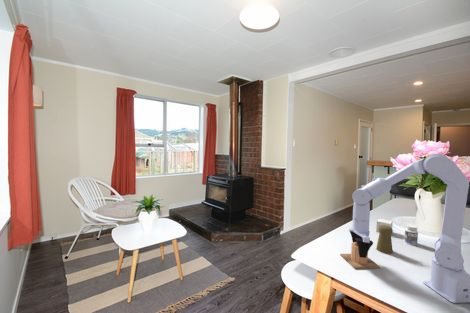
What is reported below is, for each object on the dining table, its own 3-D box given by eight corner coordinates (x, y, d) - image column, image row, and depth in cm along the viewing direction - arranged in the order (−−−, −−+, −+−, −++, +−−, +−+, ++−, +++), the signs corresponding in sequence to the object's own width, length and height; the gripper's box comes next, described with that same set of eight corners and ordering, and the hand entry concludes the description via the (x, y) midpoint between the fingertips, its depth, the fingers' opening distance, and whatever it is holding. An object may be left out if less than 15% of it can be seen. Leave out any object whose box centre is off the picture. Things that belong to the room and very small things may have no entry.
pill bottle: (404, 239, 106) (405, 223, 105) (417, 242, 103) (418, 225, 102) (404, 243, 102) (405, 226, 101) (417, 246, 99) (418, 228, 98)
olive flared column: (395, 254, 92) (397, 229, 91) (379, 253, 93) (381, 228, 92) (388, 247, 97) (389, 224, 97) (373, 246, 99) (374, 223, 98)
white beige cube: (376, 232, 115) (376, 221, 115) (378, 229, 119) (379, 218, 119) (389, 235, 111) (390, 224, 110) (392, 232, 115) (392, 221, 115)
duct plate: (380, 268, 81) (380, 257, 81) (354, 269, 81) (355, 258, 80) (362, 254, 91) (363, 245, 91) (340, 255, 91) (340, 245, 90)
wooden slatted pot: (368, 259, 86) (369, 245, 86) (365, 265, 82) (366, 250, 82) (353, 254, 90) (353, 240, 90) (349, 260, 86) (350, 245, 85)
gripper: (345, 212, 93) (344, 242, 94) (355, 224, 79) (353, 260, 80) (363, 213, 91) (362, 244, 92) (376, 226, 77) (375, 263, 78)
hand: (359, 252), depth 86 cm, fingers open, 7 cm apart
